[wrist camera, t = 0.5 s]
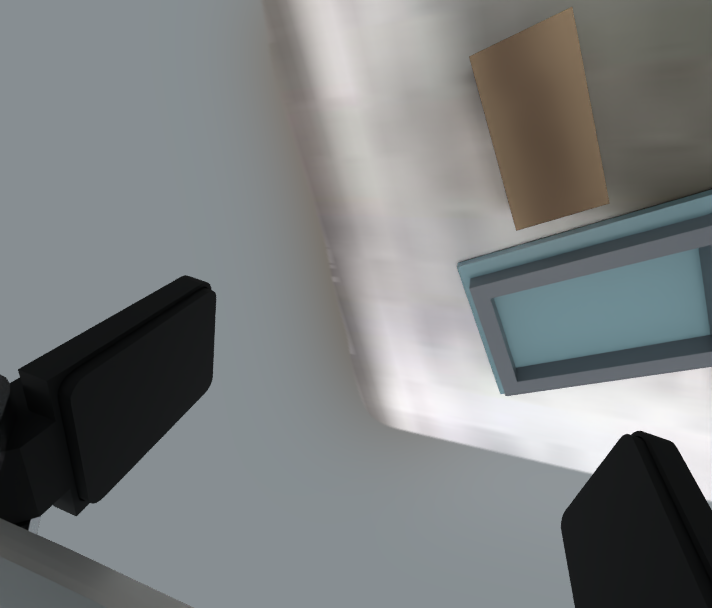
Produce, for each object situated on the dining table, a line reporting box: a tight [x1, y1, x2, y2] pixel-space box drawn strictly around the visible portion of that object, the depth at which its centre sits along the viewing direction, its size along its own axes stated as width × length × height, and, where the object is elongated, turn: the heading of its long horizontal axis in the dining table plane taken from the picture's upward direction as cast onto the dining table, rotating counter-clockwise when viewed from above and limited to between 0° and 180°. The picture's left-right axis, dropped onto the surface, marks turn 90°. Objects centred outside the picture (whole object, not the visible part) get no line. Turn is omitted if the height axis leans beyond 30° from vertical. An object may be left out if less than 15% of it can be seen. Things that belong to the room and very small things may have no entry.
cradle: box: [457, 190, 712, 396], centre depth 30 cm, size 17×12×3 cm
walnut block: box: [469, 7, 609, 231], centre depth 25 cm, size 5×10×6 cm, turn 23°
